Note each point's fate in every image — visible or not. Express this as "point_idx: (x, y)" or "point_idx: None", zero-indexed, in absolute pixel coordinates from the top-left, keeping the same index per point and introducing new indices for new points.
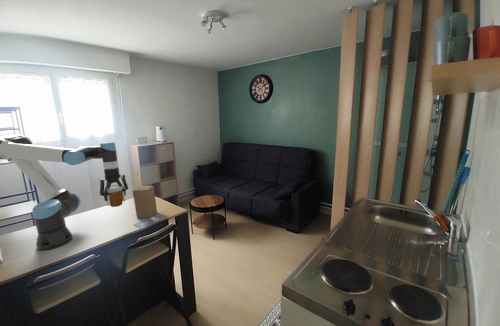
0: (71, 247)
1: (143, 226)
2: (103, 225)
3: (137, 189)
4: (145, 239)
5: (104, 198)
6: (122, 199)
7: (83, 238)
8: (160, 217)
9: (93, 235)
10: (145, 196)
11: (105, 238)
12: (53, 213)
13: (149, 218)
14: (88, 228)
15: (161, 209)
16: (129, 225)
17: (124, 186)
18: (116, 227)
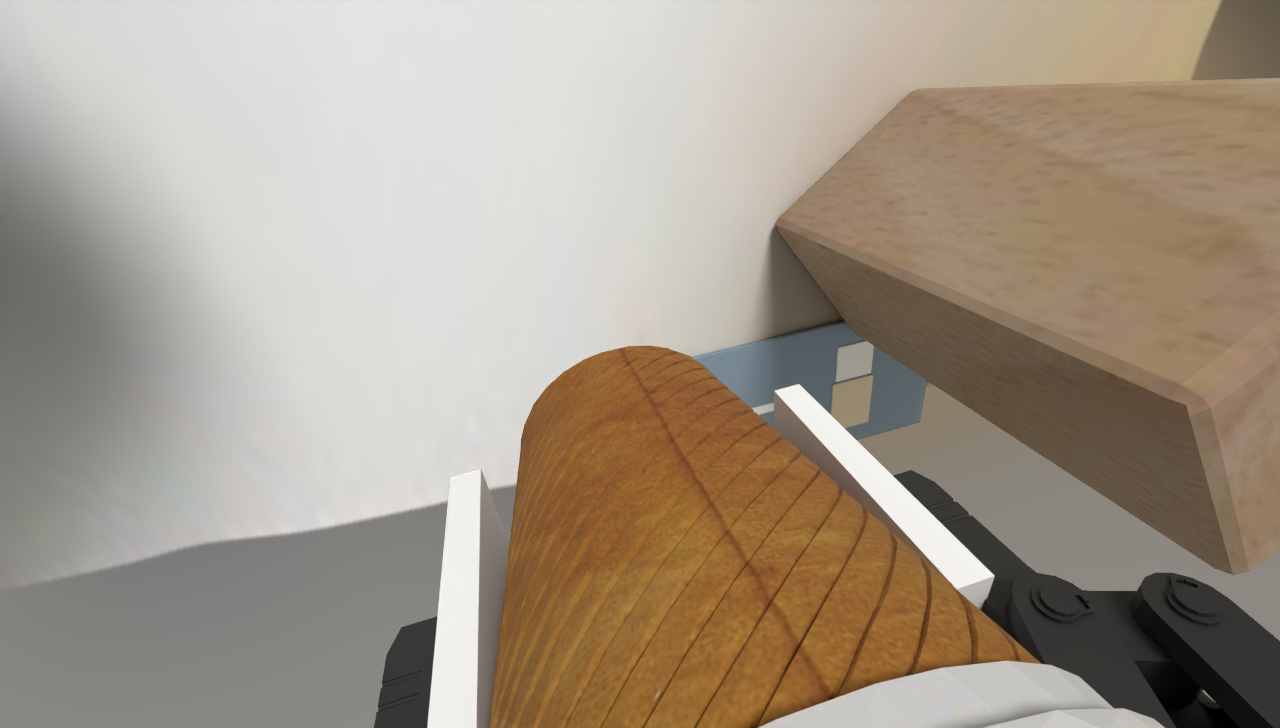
0: (53, 451)
1: None
2: (390, 104)
3: (1265, 426)
4: None
5: (382, 719)
6: (790, 439)
7: (151, 326)
8: (896, 385)
9: (271, 327)
10: (1079, 469)
11: (399, 464)
12: None
13: (835, 340)
14: (155, 21)
15: None
16: None
17: (1234, 712)
18: (528, 301)
